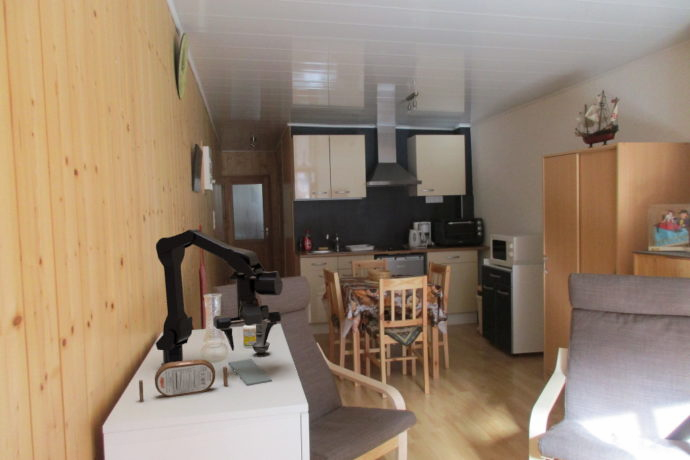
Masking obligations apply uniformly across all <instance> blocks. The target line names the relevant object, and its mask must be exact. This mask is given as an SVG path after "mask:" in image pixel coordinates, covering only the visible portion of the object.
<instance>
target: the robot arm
mask: <svg viewBox="0 0 690 460" xmlns="http://www.w3.org/2000/svg"><path fill="white" fill-rule="evenodd" d="M192 246H196V247H197V248H200V249H202V250H204V251H206V252H208V253H210V254H212V255H214V256H216V257H217V258H221V260H223V261H224V262H225V264H226V265H227V266H229V267H230V268H231V269H233V270H234V271H233V273H232V274H231V275H230V276H229V277H228V280H230V281H233V280H234V281H235V284H236V285H235V286H236V287H235V288H236V300H235V301H236V315H237V316H229V315H228V314H221V315H220V314H219V315H215V316H214V317H213V318H212V321H213V322H212V323H213V327H215V328H216V329H217V330H220V331H221V332H223V333H224V335H225V336H226V339H227V342H228V345H229V346H230V348H231V349H230V350H231V351H232V352H234V351H235V344H234V337H233V328H232V327H231V326H232V325H233V324H242V323H244V325H252V324H261V323H262V342H263V346H265V344H266V342H268V341H267V340H268V338H269V335H270V332H271V330H272V328H273V326H277V323H278V322H281V321H282V314H281V312H280V311H279V310H278V309H275V308H272V309H271V308H270V307H269V305H267V304H265V305H262V304H261V305H262V306H259V305H258V299H257V293H258V295H259V296H280V295H281V294H282V291H283V287H284V284H283V280H282V277H281V276H280V272H279V271H277V270H274V271H267V270H266V269H265V267H263V265H262V263H261V262H260V261H259V258H258V254H257V252H255V251H252V250H249V249H245V248H241V247H236V246H233V245H229V244H227V243H226V242H223V241H221V240H219V239H217V238H215V237H212V236H211V235H209V234H206V233H205V232H203V231H201V230H200V229H197V228H194V229H193V228H192V229H187V230H186V231H184V232H182V233H178V234H176V235H172V236H166V237H161V238H160V239H159V240H158V241H157V242H156V243H155V250H156V256H157V259H158V260H159V262H160V263H161V265H162V266H163V273H164V275H163V276H164V284H165V285H164V286H165V298H166V310H167V315H166V318H165V320H164V322H163V328H162V329H163V330H162V335H161V336H160V338H158V340H157V341H156V342H155V347H156V349H157V351H162V360H163V361H162V363H161V364H160V365H161V366H163V365H164V364H167V363H170V362H179V361H184V353H183V352H184V351H183V349H184V348H183V347H184V346H183V345H185V344H188V341H189V339H190V337H191V336H192V333H193V330H194V326H193V316H188V315H187V314H186V312H185V300H184V289H183V287H184V286H183V278H182V263H183V261H184V258H185V254H186V249H188V248H190V247H192ZM269 308H270V309H269ZM161 366H160V367H161Z"/></svg>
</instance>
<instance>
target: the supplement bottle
mask: <svg viewBox="0 0 690 460" xmlns="http://www.w3.org/2000/svg"><path fill="white" fill-rule="evenodd" d="M255 332H256V324H252V325H246V324H244V325H243V327H242V334H243V340H242V341H243V347H244V348H245V349H253V346H252V344H253V343H255V342H256V334H255Z"/></svg>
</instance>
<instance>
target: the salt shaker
mask: <svg viewBox="0 0 690 460" xmlns="http://www.w3.org/2000/svg"><path fill="white" fill-rule="evenodd" d="M255 334H256V342H255V343H253V344H252V346H253V348H252V349H253V351H254V352H255V353H254V354H252V356H253V357H254V358H265V357H268V356H270V353H269V352H268V350H269V348H270V346H271V343H270V342H268V341H266V344H265V346H263V342H262V323H261V324H256V332H255Z"/></svg>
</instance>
